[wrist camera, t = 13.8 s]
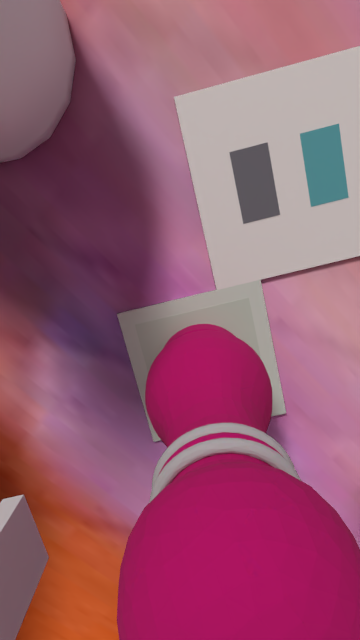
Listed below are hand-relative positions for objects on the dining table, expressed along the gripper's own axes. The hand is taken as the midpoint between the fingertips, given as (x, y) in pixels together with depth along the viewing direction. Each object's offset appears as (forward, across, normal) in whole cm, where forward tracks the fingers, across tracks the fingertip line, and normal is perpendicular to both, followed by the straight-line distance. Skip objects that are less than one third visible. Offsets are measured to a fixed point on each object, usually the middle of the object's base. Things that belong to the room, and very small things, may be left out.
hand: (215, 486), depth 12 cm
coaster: (+13, +1, 0) cm, 13 cm away
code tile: (+13, +9, +11) cm, 19 cm away
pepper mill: (+13, 0, 0) cm, 13 cm away
